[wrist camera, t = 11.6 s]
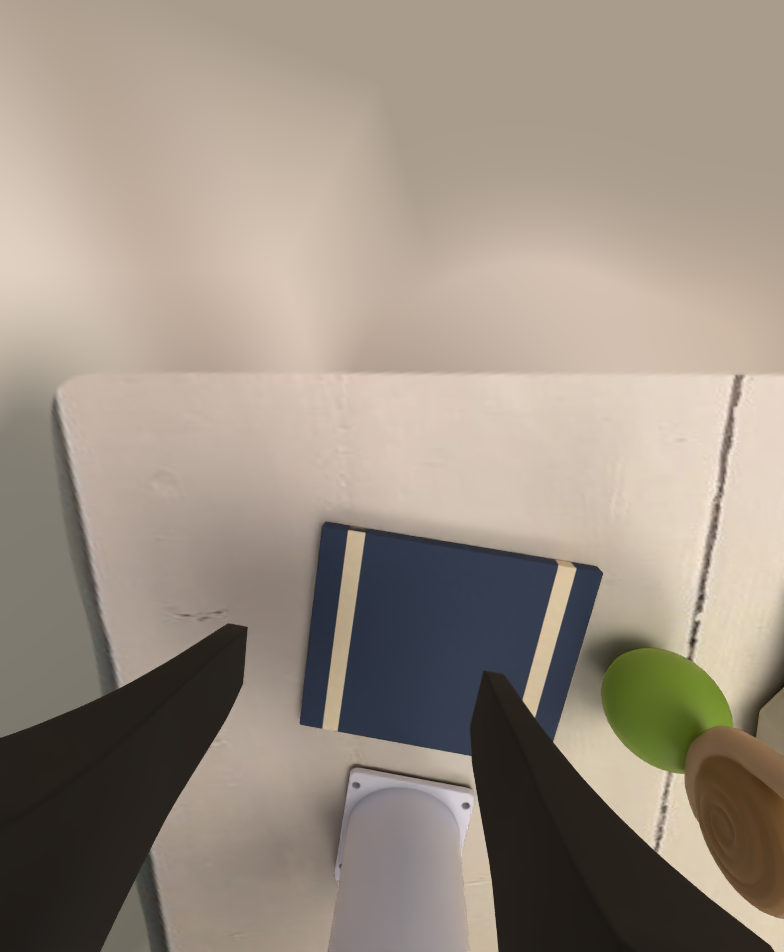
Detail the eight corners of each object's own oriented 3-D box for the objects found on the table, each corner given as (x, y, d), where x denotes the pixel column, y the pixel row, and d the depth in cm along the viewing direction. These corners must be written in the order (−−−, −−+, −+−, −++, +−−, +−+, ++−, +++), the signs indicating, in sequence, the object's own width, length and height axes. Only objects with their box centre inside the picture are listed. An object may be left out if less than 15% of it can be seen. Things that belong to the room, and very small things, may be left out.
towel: (541, 757, 24) (545, 770, 24) (302, 714, 25) (298, 725, 24) (597, 566, 21) (604, 573, 21) (325, 521, 22) (321, 526, 21)
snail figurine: (697, 614, 22) (1023, 884, 10) (673, 713, 23) (933, 1049, 11) (595, 606, 22) (796, 859, 10) (578, 704, 23) (735, 1023, 12)
